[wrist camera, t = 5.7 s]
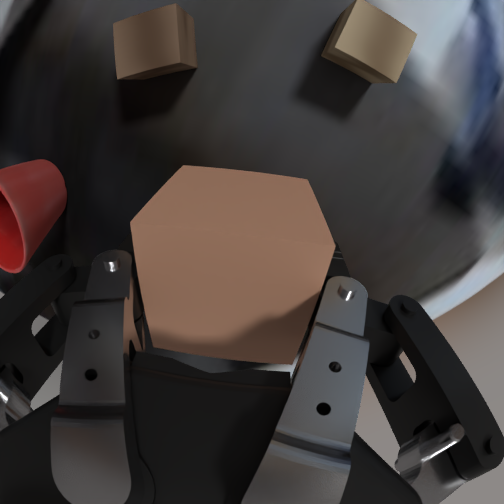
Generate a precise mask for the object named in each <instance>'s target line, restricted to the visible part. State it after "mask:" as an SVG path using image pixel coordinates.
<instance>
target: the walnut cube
mask: <svg viewBox="0 0 504 504" xmlns="http://www.w3.org/2000/svg"><path fill="white" fill-rule="evenodd" d="M113 29H114V48H115V61H116V72H117V79H138V80H145V79H148V78H152V77H156V76H161V75H165V74H169V73H174V72H179V71H184V70H189V69H195V68H198V66H197V56H196V44H195V33H194V20H193V18H192V17H191V16H190V15H189V14H188V13H186V12H185V11H184V10H183V9H182V8H181V7H180V6H179V5H177V4H172V5H168V6H164V7H160V8H157V9H153V10H150V11H147V12H144V13H141V14H138V15H135V16H132V17H129V18H126V19H124V20H121V21H118V22H116V23H113Z"/></svg>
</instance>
